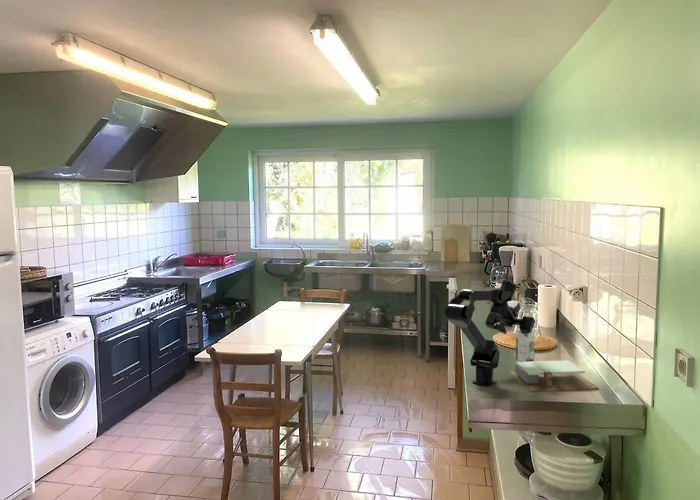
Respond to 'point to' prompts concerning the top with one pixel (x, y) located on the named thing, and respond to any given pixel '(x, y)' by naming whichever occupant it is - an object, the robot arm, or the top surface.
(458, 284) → the top surface
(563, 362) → the trapdoor
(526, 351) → the syrup box
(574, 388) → the trapdoor frame
